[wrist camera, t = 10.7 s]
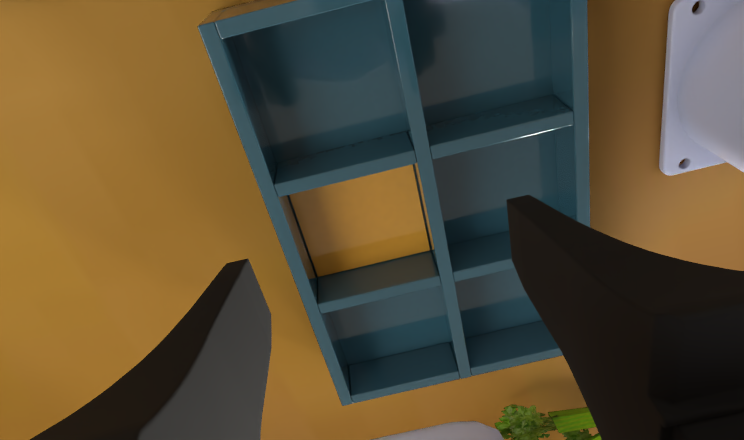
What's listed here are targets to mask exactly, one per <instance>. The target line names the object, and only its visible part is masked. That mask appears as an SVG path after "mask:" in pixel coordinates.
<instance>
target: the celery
mask: <svg viewBox="0 0 744 440" xmlns="http://www.w3.org/2000/svg"><path fill="white" fill-rule="evenodd" d="M512 406H514V407H512ZM516 408H518V411H517V410H516ZM504 409H505V410H504V411H501V412H503V414H505V416H502V418H499V419H500V420H501V421H503V422H502V423H501V422H498V423H495V426H496V427H497V429H499V431H501V432H500V434H501V435H502V437H503V438H504V439H505V438H506V439H509V438H510V437H511V438H513V437H514V438H513V439H511V440H539V439H538V438H539V437H540V438H544V436H545V437H547V438H548V437H549V436H550V434H541V433H544V432H545V433H546V432H547V431H551V430H554V431H555V430H558V432H559V433H562V434H563V435H564V437H567V439H566V440H602V439H601V437H600V434H599V433H598V434H596V435H594V436H591V434H589V431H588V429H587V428H592V427H596V425H595V422H594V420H593V418H592V416H591V413H590V411H589V409H588V407H585V408H577V409H569V410H562V411H554V412H548V414H549V416H550V417H541V416H544V415H545V414H542V413H539V412H538V413H536V410H535V409H536V407H535V405H534V406H533V405H532V406H531V407H530V408H529V409H528V408H526V407H525V408H524V406H517V405H511V406H507V407H505V408H504ZM506 409H507V410H506ZM532 412H533V413H535V414H533V413H532ZM511 416H513V417H511ZM539 416H540V417H539ZM514 418H515V419H514ZM550 420H552V421H550ZM548 423H549V424H548ZM540 424H542V425H543V426H542V425H540ZM553 424H555V425H553ZM544 425H546V426H544ZM582 429H583V431H584V432H580V431H579V430H582ZM585 429H586V430H585ZM510 430H511V431H510ZM563 432H564V433H563ZM506 433H507V434H508V433H510V434H511V435H513V436H511V435H507V434H506Z"/></svg>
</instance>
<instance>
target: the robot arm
mask: <svg viewBox="0 0 744 440" xmlns="http://www.w3.org/2000/svg"><path fill="white" fill-rule="evenodd" d="M698 1H699V7H698V9H697V10H696V11H695V12H692V8H693V5H694V4H695V3H696V2H698ZM683 159H685V161H684V162H683V163H682V164H680V165H679V163H680V162H681V160H683ZM725 162H728V163H730V164H731V165H733V166H734V167H736V168H738V169H739V170H741V171H742V172H744V0H675V1H674V2H673V3H672V5H671V6H670V9H669V16H668V32H667V48H666V64H665V79H664V95H663V111H662V127H661V143H660V159H659V168H660V170H661V171H662V172H663V173H664V174H666V175H675V174H679V173H683V172H688V171H692V170H696V169H700V168H704V167H708V166H713V165H717V164H721V163H725ZM506 201H507V212H508V223H509V234H510V245H511V256H512V262H513V264H514V267H515V269H516V271H517V274H518V276H519V279H520V281H521V283H522V286H523V288H524V290H525V292H526V293H527V295H528V297H529V299H530V300H531V302H532V304H533V305H534V307H535V309H536V310H537V312H538V314H539V315H540V317H541V319H542V320H543V322H544V324H545V325H546V327H547V329H548V330H549V332H550V333H551V335H552V337H553V338H554V340H555V342H556V343H557V345H558V347H559V348H560V350H561V352H562V354H563V355H564V357H565V359H566V361H567V363H568V365H569V367H570V369H571V371H572V373H573V376H574V378H575V380H576V382H577V384H578V386H579V389H580V391H581V393H582V395H583V397H584V400H585V402H586V404H587V406H588V409H589V411H590V413H591V416H592V418H593V420H594V422H595V425H596V427H597V429H598V432H599V434H600V437H601V439H602V440H744V271H737V270H730V269H724V268H719V267H713V266H708V265H702V264H698V263H693V262H688V261H684V260H680V259H676V258H672V257H669V256H665V255H661V254H658V253H654V252H651V251H648V250H645V249H642V248H639V247H636V246H633V245H630V244H628V243H625V242H622V241H620V240H617V239H615V238H612V237H610V236H608V235H605V234H603V233H601V232H599V231H596V230H594V229H592V228H590V227H588V226H586V225H584V224H582V223H580V222H578V221H576V220H574V219H572V218H570V217H568V216H567V215H565V214H563V213H561V212H559V211H557V210H556V209H554V208H552V207H550V206H549V205H547V204H545V203H543V202H541V201H540V200H538V199H536V198H534V197H532V196H530V195H525V196H520V197H516V198H512V199H507V200H506ZM270 353H271V313H270V311H269V308H268V306H267V303H266V301H265V298H264V296H263V293H262V291H261V289H260V286H259V284H258V281H257V279H256V276H255V274H254V272H253V269H252V267H251V264H250V262H249V259H244V260H240V261H236V262H231V263H227V264H226V265H225V266H224V267H223V268H222V270H221V271H220V272H219V273H218V275H217V276H216V277H215V278H214V280H213V281H212V282H211V284H210V285H209V286H208V288H207V289H206V290H205V291H204V293H203V294H202V295H201V296H200V298H199V299H198V300H197V301H196V303H195V304H194V305H193V306H192V308H191V309H190V310H189V311H188V313H187V314H186V315H185V316H184V317H183V318H182V319H181V320H180V322H179V323H178V324H177V325H176V326H175V327H174V328H173V330H172V331H171V332H170V333H169V334H168V335H167V336H166V337H165V338H164V339H163V340H162V341H161V342H160V344H159V345H158V346H157V347H156V348H154V349H153V350H152V351H151V352H150V353H149V354H148V355H147V356H146V357H145V358H144V359H143V360H142V361H141V362H140V363H138V364H137V365H136V366H135V367H134V368H133V369H131V370H130V371H129V372H128V373H126V374H125V375H124V376H123V377H122V378H120V379H119V380H118V381H117V382H115V383H114V384H113V385H112V386H111V387H109V388H108V389H107V390H105V391H104V392H103V393H101V394H100V395H99V396H97V397H96V398H94V399H93V400H92V401H90V402H89V403H87V404H86V405H84V406H83V407H82V408H80V409H79V410H77V411H76V412H74V413H73V414H71V415H70V416H68V417H67V418H65V419H63V420H62V421H60V422H58V423H57V424H55V425H53V426H52V427H50V428H48V429H47V430H45V431H43V432H42V433H40V434H38V435H37V436H35V437H33V438H32V439H30V440H260V431H261V420H262V412H263V405H264V397H265V390H266V383H267V376H268V369H269V361H270ZM371 440H504V439H503V437H502V435H501V434H500V432H499V430H497V429H494V428H492V427H489V426H487V425H484V424H482V423H479V422H476V421H468V422H450V423H446V424H441V425H436V426H432V427H427V428H422V429H418V430H413V431H408V432H404V433H399V434H395V435H390V436H385V437H381V438H376V439H371Z"/></svg>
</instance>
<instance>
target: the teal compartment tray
mask: <svg viewBox="0 0 744 440" xmlns="http://www.w3.org/2000/svg"><path fill="white" fill-rule="evenodd" d="M198 30H199V32H200V35H201V38H202V40H203V43H204V45H205V48H206V51H207V53H208V56H209V58H210V61H211V64H212V66H213V69H214V72H215V74H216V77H217V79H218V82H219V85H220V87H221V90H222V92H223V95H224V98H225V100H226V103H227V106H228V108H229V111H230V113H231V116H232V119H233V121H234V124H235V126H236V129H237V132H238V134H239V137H240V140H241V142H242V145H243V147H244V150H245V153H246V155H247V158H248V160H249V163H250V166H251V168H252V171H253V174H254V176H255V179H256V181H257V184H258V187H259V189H260V192H261V194H262V197H263V200H264V202H265V205H266V208H267V210H268V213H269V215H270V218H271V221H272V223H273V226H274V229H275V231H276V234H277V236H278V239H279V242H280V244H281V247H282V249H283V252H284V255H285V257H286V260H287V263H288V265H289V268H290V270H291V273H292V276H293V278H294V281H295V283H296V286H297V289H298V291H299V294H300V297H301V299H302V302H303V304H304V307H305V310H306V312H307V315H308V317H309V320H310V323H311V325H312V328H313V331H314V333H315V336H316V338H317V341H318V344H319V346H320V349H321V351H322V354H323V357H324V359H325V362H326V365H327V367H328V370H329V372H330V375H331V378H332V380H333V383H334V385H335V388H336V391H337V393H338V396H339V399H340V401H341V404H342V406H345V405H349V404H353V403H357V402H361V401H366V400H370V399H375V398H379V397H383V396H388V395H392V394H396V393H401V392H405V391H409V390H414V389H418V388H423V387H427V386H431V385H436V384H440V383H444V382H449V381H453V380H457V379H460V378H461V379H463V378H467V377H471V375H472V376H475V375H479V374H484V373H488V372H492V371H497V370H501V369H505V368H510V367H514V366H519V365H523V364H527V363H532V362H536V361H540V360H545V359H549V358H553V357H558V356H562V355H563V354H562V352H561V350H560V348H559V347H558V345H557V343H556V342H555V340H554V338H553V337H552V335H551V333H550V332H549V330H548V329H547V327H546V325H545V324H544V322H543V320H542V319H541V317H540V315H539V314H538V312H537V310H536V309H535V307H534V305H533V304H532V302H531V300H530V299H529V297H528V295H527V293H526V292H525V290H524V288H523V286H522V283H521V281H520V279H519V276H518V274H517V271H516V269H515V267H514V264H513V262H512V256H511V245H510V234H509V223H508V212H507V201H506V200H507V199H512V198H516V197H520V196H525V195H530V196H532V197H534V198H536V199H538V200H540V201H541V202H543V203H545V204H547V205H549V206H550V207H552V208H554V209H556V210H557V211H559V212H561V213H563V214H565V215H567V216H568V217H570V218H572V219H574V220H576V221H578V222H580V223H582V224H584V225H586V226H588V227H590V178H589V100H588V22H587V0H255V1H251V2H247V3H243V4H239V5H236V6H232V7H228V8H224V9H220V10H216V11H212V12H211V13H210V14H209V15H208V16H207V17H206V18H205V19H204V20H203V21H202V22H201V23H200V24H199V25H198Z"/></svg>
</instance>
